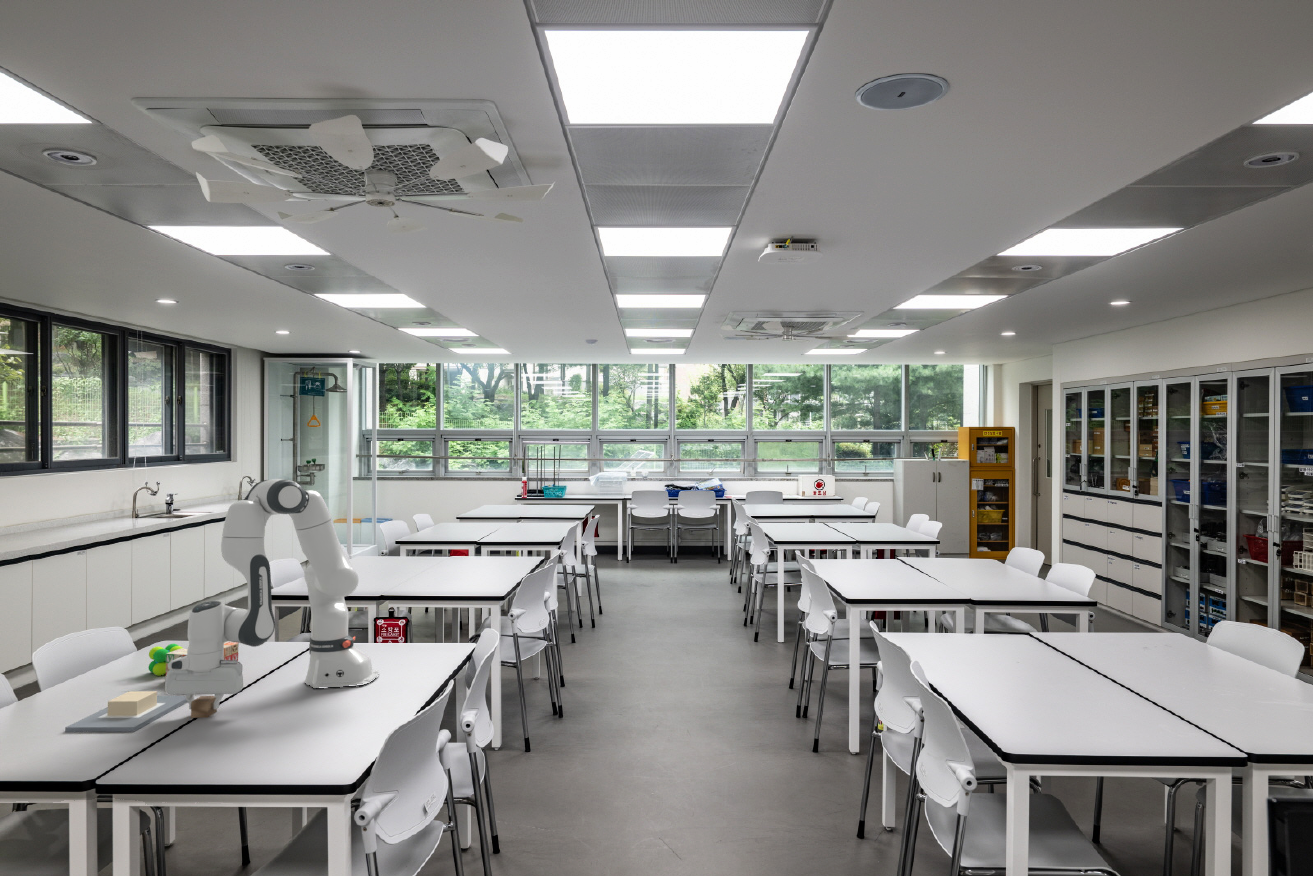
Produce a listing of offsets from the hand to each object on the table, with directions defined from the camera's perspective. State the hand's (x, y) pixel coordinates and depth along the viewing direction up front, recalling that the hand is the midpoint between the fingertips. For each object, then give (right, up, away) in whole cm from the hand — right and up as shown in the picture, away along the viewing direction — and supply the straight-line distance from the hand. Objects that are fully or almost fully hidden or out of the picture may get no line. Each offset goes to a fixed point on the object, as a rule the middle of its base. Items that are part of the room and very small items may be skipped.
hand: (204, 708), depth 196 cm
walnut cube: (0, -2, 0) cm, 2 cm away
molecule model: (-37, -2, +37) cm, 52 cm away
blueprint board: (-20, -1, -1) cm, 20 cm away
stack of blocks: (-20, -3, +29) cm, 35 cm away
